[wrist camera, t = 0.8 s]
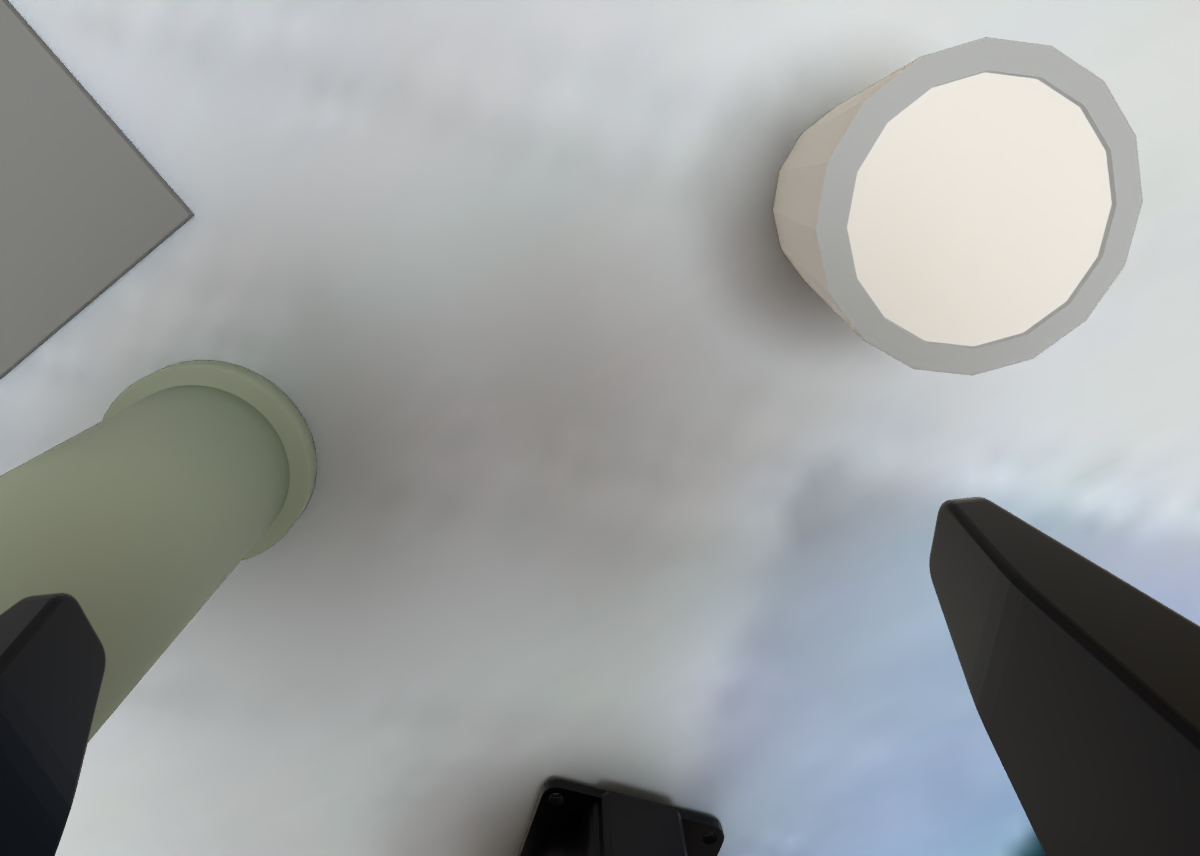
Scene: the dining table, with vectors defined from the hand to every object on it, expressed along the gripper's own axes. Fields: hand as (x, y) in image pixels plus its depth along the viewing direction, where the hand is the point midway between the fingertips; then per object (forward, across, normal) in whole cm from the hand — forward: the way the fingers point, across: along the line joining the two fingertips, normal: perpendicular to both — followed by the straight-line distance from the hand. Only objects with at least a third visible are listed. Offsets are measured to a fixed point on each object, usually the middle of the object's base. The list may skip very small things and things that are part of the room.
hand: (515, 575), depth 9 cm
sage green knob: (+15, +10, +8) cm, 20 cm away
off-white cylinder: (+17, -10, +3) cm, 20 cm away
